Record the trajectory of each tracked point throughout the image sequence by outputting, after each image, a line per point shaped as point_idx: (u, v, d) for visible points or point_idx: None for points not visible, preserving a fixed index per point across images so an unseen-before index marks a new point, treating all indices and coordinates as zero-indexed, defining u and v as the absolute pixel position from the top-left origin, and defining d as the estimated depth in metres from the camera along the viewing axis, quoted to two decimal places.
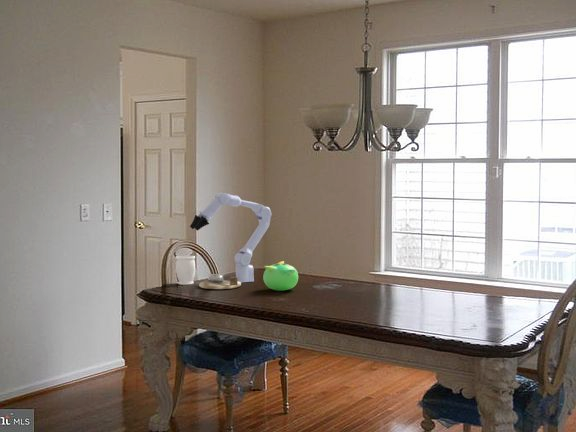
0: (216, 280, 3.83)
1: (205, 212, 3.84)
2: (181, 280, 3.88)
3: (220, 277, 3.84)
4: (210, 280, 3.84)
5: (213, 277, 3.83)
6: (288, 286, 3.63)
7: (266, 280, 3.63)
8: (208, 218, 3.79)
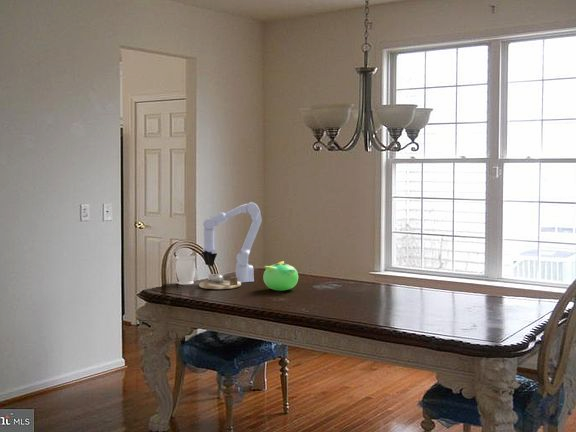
0: (216, 280, 3.83)
1: (207, 247, 3.91)
2: (181, 280, 3.88)
3: (220, 277, 3.84)
4: (210, 280, 3.84)
5: (213, 277, 3.83)
6: (288, 286, 3.63)
7: (266, 280, 3.63)
8: (213, 251, 3.87)
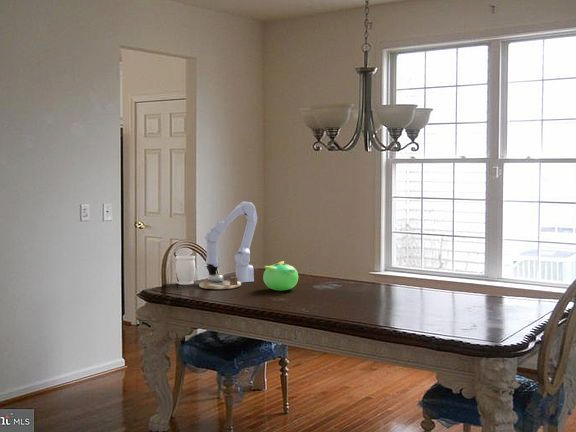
0: (216, 280, 3.83)
1: (209, 260, 3.88)
2: (181, 280, 3.88)
3: (220, 277, 3.84)
4: (210, 280, 3.83)
5: (213, 277, 3.83)
6: (288, 286, 3.63)
7: (266, 280, 3.63)
8: (216, 265, 3.84)
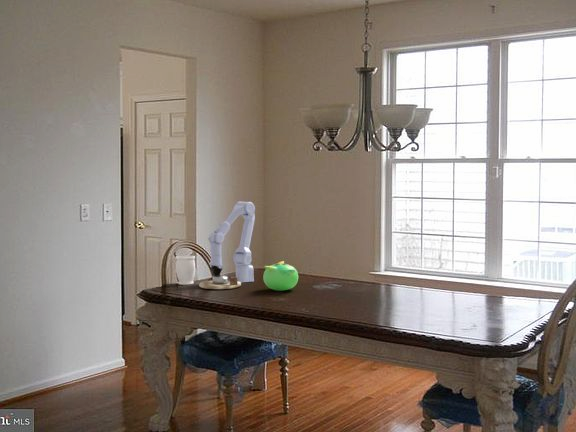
0: (221, 282, 3.77)
1: (214, 261, 3.82)
2: (181, 280, 3.88)
3: (224, 279, 3.78)
4: (214, 282, 3.78)
5: (217, 279, 3.77)
6: (288, 286, 3.63)
7: (266, 280, 3.63)
8: (221, 266, 3.78)
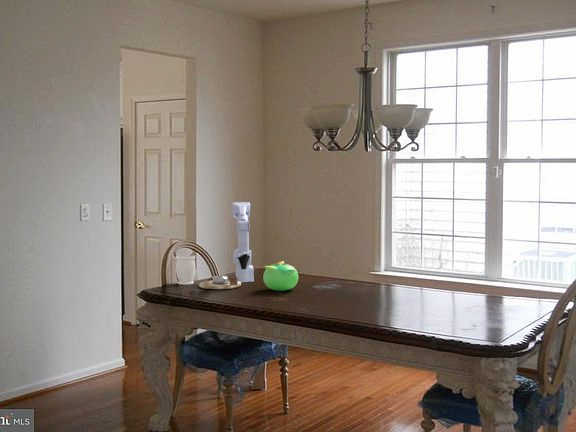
0: (221, 282, 3.77)
1: (238, 250, 3.77)
2: (181, 280, 3.88)
3: (224, 279, 3.78)
4: (214, 282, 3.78)
5: (217, 279, 3.77)
6: (288, 286, 3.63)
7: (266, 280, 3.63)
8: (236, 255, 3.71)
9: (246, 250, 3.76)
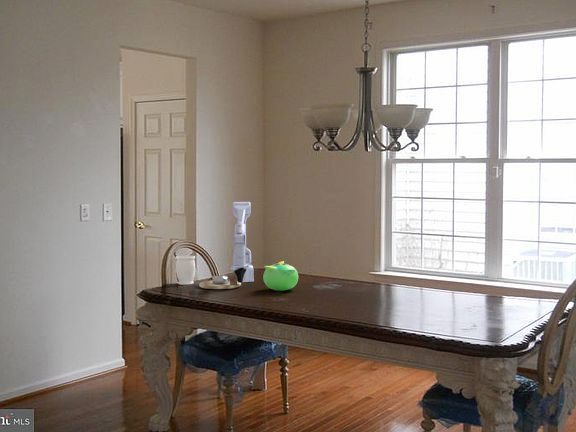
0: (221, 282, 3.77)
1: (234, 263, 3.76)
2: (181, 280, 3.88)
3: (224, 279, 3.78)
4: (214, 282, 3.78)
5: (217, 279, 3.77)
6: (288, 286, 3.63)
7: (266, 280, 3.63)
8: (231, 268, 3.70)
9: (242, 263, 3.74)
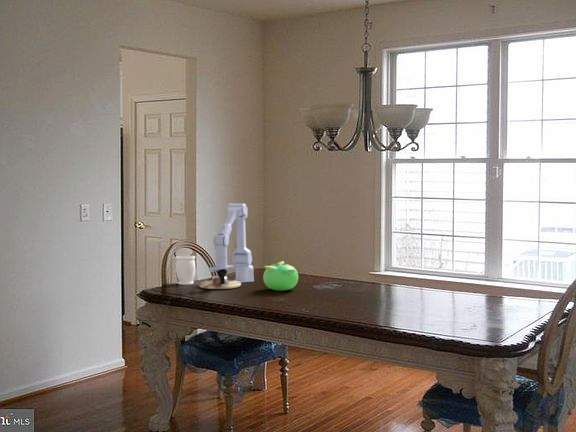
0: None
1: None
2: (181, 280, 3.88)
3: None
4: None
5: (212, 278, 3.79)
6: (288, 286, 3.63)
7: (266, 280, 3.63)
8: (209, 269, 3.68)
9: (222, 265, 3.69)
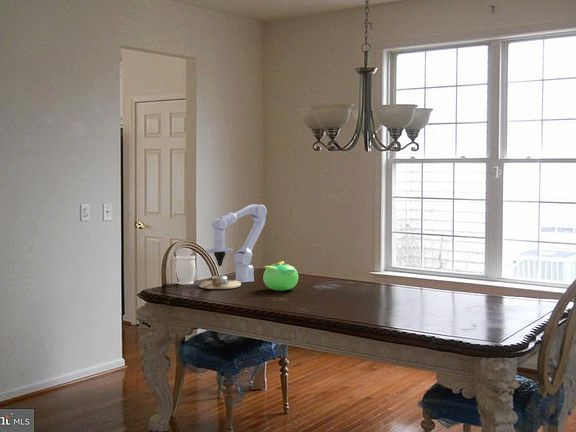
0: None
1: None
2: (181, 280, 3.88)
3: None
4: None
5: (212, 278, 3.80)
6: (288, 286, 3.63)
7: (266, 280, 3.63)
8: (206, 251, 3.85)
9: (218, 247, 3.85)
